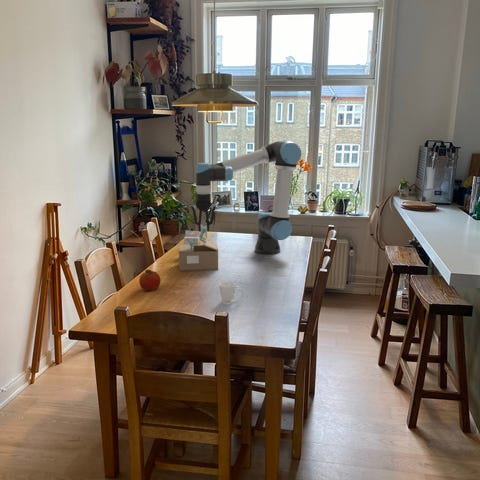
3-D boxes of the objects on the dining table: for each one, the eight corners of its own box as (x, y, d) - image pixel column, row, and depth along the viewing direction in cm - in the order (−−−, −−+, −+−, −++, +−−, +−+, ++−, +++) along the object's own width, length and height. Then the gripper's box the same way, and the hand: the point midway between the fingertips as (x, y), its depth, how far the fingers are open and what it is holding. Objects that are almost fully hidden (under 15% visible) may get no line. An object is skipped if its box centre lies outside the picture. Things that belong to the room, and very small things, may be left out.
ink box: (183, 257, 265) (183, 232, 261) (185, 255, 269) (184, 230, 266) (198, 258, 264) (198, 232, 260) (200, 255, 269) (199, 230, 265)
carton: (216, 262, 256) (216, 244, 253) (218, 269, 242) (218, 251, 240) (179, 263, 253) (179, 245, 251) (179, 271, 240) (178, 252, 237)
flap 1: (179, 252, 237) (178, 243, 236) (179, 245, 251) (178, 237, 249) (193, 252, 238) (193, 242, 237) (193, 245, 251) (193, 236, 250)
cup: (219, 299, 201) (219, 281, 199) (242, 299, 201) (242, 281, 199) (218, 305, 195) (218, 286, 193) (242, 305, 194) (242, 286, 192)
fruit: (164, 286, 217) (163, 266, 214) (156, 293, 208) (155, 272, 205) (144, 285, 219) (143, 265, 216) (136, 292, 210) (135, 271, 207)
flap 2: (216, 244, 253) (220, 233, 252) (217, 251, 240) (222, 238, 239) (197, 237, 251) (202, 226, 250) (198, 243, 238) (203, 231, 237)
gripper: (217, 192, 246) (217, 235, 252) (188, 192, 245) (189, 235, 250) (218, 194, 239) (218, 238, 245) (189, 194, 237) (189, 239, 243)
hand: (203, 237), depth 247 cm, fingers closed on flap 2, 2 cm apart
